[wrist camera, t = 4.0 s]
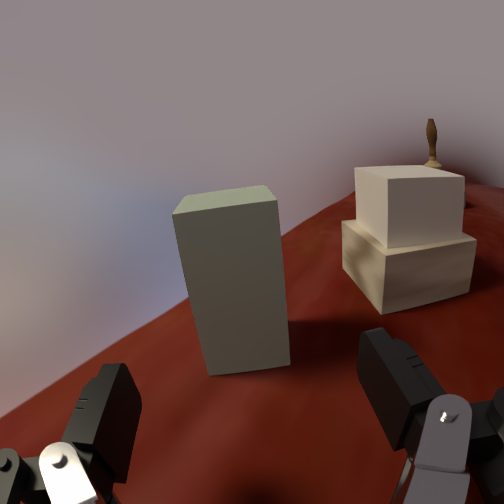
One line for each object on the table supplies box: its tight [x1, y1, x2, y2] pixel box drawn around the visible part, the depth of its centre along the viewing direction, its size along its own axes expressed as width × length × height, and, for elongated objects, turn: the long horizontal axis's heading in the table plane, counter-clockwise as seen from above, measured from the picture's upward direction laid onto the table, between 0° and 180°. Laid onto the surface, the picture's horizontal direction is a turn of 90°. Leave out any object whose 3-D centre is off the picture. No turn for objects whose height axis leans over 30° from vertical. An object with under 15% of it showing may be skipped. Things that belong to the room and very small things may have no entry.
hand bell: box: [424, 119, 442, 170], centre depth 59 cm, size 8×8×16 cm
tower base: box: [342, 220, 477, 315], centre depth 25 cm, size 9×9×5 cm
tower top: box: [355, 165, 465, 249], centre depth 23 cm, size 7×7×5 cm
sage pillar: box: [172, 185, 291, 376], centre depth 19 cm, size 5×5×10 cm
